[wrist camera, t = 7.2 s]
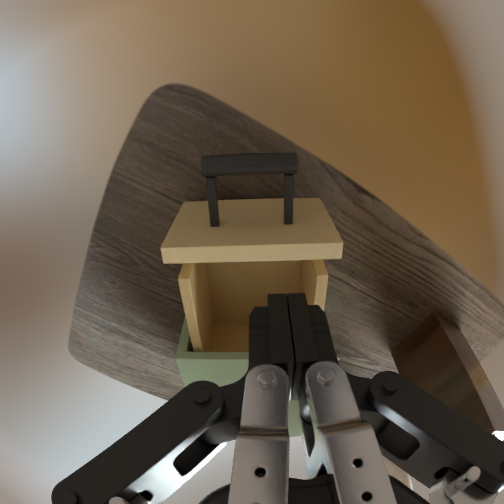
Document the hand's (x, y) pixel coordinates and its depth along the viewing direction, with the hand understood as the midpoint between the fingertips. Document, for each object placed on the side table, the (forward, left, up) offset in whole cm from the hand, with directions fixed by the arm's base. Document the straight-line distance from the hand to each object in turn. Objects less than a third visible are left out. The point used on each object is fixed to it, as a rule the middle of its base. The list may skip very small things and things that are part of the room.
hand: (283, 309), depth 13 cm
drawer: (+4, -3, -15) cm, 16 cm away
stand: (+29, +10, -16) cm, 34 cm away
